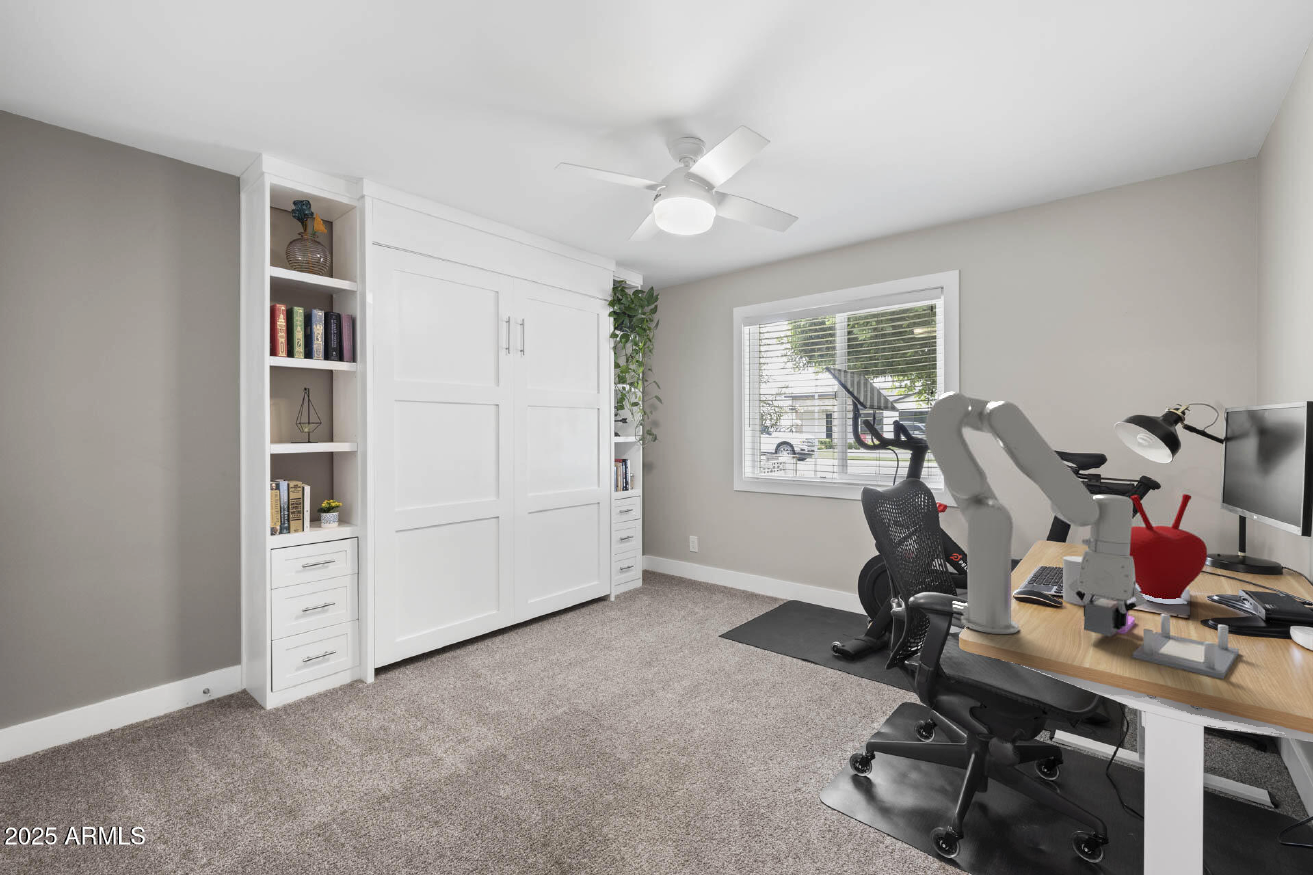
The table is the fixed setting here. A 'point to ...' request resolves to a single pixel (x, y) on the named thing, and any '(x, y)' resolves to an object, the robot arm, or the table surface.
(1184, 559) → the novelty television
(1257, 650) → the table surface
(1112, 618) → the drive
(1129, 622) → the bracket
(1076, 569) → the light grey cylinder
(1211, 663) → the grey fixture base
